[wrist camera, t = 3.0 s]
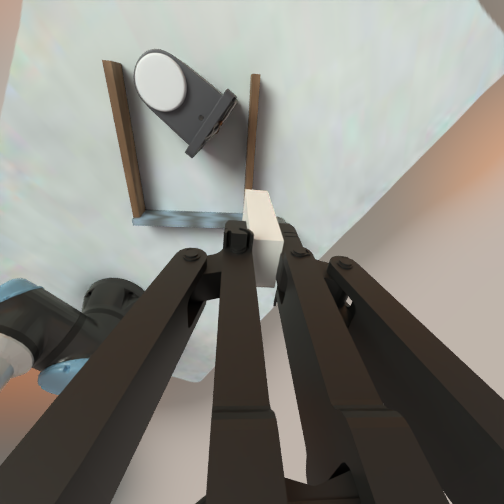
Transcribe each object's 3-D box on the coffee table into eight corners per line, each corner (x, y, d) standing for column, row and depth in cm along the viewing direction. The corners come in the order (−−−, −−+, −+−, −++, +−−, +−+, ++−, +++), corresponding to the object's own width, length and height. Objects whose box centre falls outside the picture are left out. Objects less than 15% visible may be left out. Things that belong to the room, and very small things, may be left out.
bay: (140, 214, 54) (132, 225, 49) (113, 62, 40) (99, 59, 35) (248, 218, 56) (249, 228, 52) (258, 76, 42) (261, 74, 38)
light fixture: (174, 37, 39) (152, 16, 30) (240, 100, 44) (239, 99, 34) (141, 99, 43) (113, 98, 34) (205, 151, 48) (195, 163, 38)
